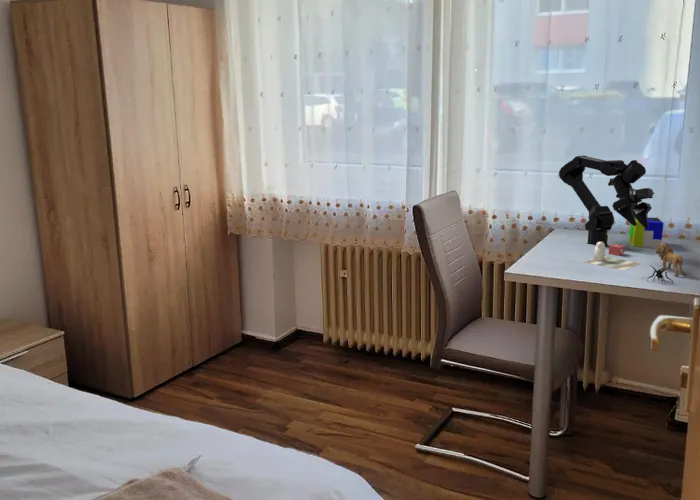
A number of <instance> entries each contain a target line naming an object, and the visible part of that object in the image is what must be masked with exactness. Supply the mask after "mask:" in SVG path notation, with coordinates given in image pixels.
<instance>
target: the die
mask: <svg viewBox="0 0 700 500" xmlns="http://www.w3.org/2000/svg"><path fill="white" fill-rule="evenodd" d="M625 247H626V246H625V245H623V244H617V243H613V244H610V245H609V248H608V255H613V256H617V257H619V256H623V255H624V254H625Z"/></svg>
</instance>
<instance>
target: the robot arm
mask: <svg viewBox="0 0 700 500" xmlns="http://www.w3.org/2000/svg"><path fill="white" fill-rule="evenodd" d="M586 168H589V169H592V170H597V171H600V173H601V174H603V175H604V176H607V177H613V176H614V177H613V178H609V182H608V184H607V186H608V187H610V186H613V188H614V189H615V190H614V191H615V192H616V195H615V197H616V199H617V200H615V201H614V202H613V203H612V209H613V211H615V212H616V214H618V215H620V216H621V217H622V218H623V219H625V220H626V221H627V222H628V223H630V224H632V225H633V226H636V225H637V223H636V220H635V218H636V219H637V220H638V221H639V222H640V224H641V225H642V226H643V227H644V228H645V229H647V228H648V227H649V226H648V218H649V217H648V215H649V213H650V212H651V210H652V205H651V203H648V202H645V201H643V200H646V199H653V198H654V194H655V192H654V190H653V188H649V187H645V188H644V187H643V188H637V189H635V188H633V186H632V184H634V183H636V182H637V181H639V180H640V179H641V178H642V177H643V176H645V175H646V172H647V170H646V167H645V166H644V165H643V164H641V163H640V162H638V160H636V159H633V160H631V161H629V162H628V163H627V164H626V163H625V161H624V160H621V159H615V160H613V159H612V160H611V159H610V160H607V159H606V160H605V159H600V158H596V157H591V156H587V155H577V156H576V155H575V157H573V159H572V160H570V161H568V162H566V163H565V164H564V165H563V166H562V167H561V168H560V169H559V172H558V176H559V179H560V180H561V182H563V183H564V184H566V185H567V186H570V187H571V189H572V190H573V191H574V192H575V194H576V195H577V197H578V198H579V200H580V201H581V203H582V205H583V206H584V207H585V209H586V210H587V211H588V221H587V222H586V223H585V224H584V228H585V231H588V233H587V243H585V244H587V245H590V246H591V245H593V246H596V244H597V243H598V242H603V243H604V244H605V247H607V246H608V245H609V244H608V239H609V235H608V231H611V230H612V227H613V225H614V222H615V216H614V212H612V211H611V209H610V207H609V206H608V205H601V204H600V203H599V202H598V200H597V198H596V197H595V196H594V194H593V193H592V191H591V190H590V189H589V187H588V186H587V184H586V183H585V182H584V179H583V178H584V174H583V173H584V172H585V170H586Z"/></svg>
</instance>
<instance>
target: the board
mask: <svg viewBox="0 0 700 500" xmlns="http://www.w3.org/2000/svg"><path fill="white" fill-rule="evenodd" d="M584 263H585V264H586V263H587V264H591V265H597V266H600V267H605V268H611V269H616V270H619V271H626V270H628V269H630V268H633V267H636V266H638V265H641V262H636V261H630V260H627V259H626V260H625V259H621V258H614V257H610V256H606V255H605V260H604V261H595V260H594V258H590V259H589V260H586V261H584Z"/></svg>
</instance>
